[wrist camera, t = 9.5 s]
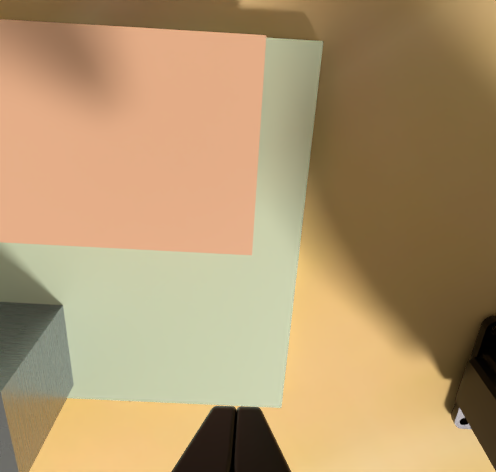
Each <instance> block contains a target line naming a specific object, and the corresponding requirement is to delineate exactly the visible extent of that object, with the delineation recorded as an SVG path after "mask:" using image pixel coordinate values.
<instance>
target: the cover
mask: <svg viewBox="0 0 496 472" xmlns="http://www.w3.org/2000/svg"><path fill="white" fill-rule="evenodd" d="M265 49H266V35H254V34H238V33H221V32H205V31H188V30H172V29H155V28H139V27H122V26H106V25H89V24H73V23H56V22H40V21H23V20H7V19H0V242H3V243H22V244H42V245H61V246H80V247H100V248H119V249H138V250H158V251H177V252H197V253H216V254H235V255H252V247H253V232H254V217H255V202H256V187H257V171H258V156H259V141H260V126H261V110H262V95H263V80H264V65H265Z"/></svg>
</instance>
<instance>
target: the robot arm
mask: <svg viewBox="0 0 496 472" xmlns="http://www.w3.org/2000/svg"><path fill="white" fill-rule="evenodd" d="M495 326H496V316H491V317H488V318H486V319H485V320H484V321H483V323H482V324H481V327H480V330H479V333H478V336H477V339H476V342H475V345H474V348H473V351H472V354H471V357H470V359H469V361H468V362H467V365H466V368H465V371H464V374H463V377H462V380H461V383H460V387H459V390H458V393H457V396H456V399H455V400H456V403H455V406H454V409H453V412H452V415H451V418H452V420H453V422H454V423H455V425H456V427H458V428H461V429H472V430H473V432H474V434H475V436H476V437H477V439H478V441H479V442H480V444H481V446H482V448H483V449H484V451H485V453H486V455H487V456H488V458H489V460H490V462H491V463H492V465H493V467H494V469H495V470H496V328H495V329H492V328H493V327H495ZM172 472H291V470H290V468H289V466H288V464H287V462H286V460H285V458H284V456H283V454H282V452H281V450H280V448H279V446H278V443H277V441H276V439H275V437H274V435H273V433H272V431H271V429H270V427H269V425H268V423H267V421H266V419H265V417H264V415H263V412H262V411H261V409H260V408H259V407H244V406H241V407H238V409H237V410H236V408H235V407H234V406H215V407H213V408H212V410H211V411H210V413H209V414H208V416H207V417H206V419H205V420H204V422H203V423H202V425H201V427H200V428H199V430H198V431H197V433H196V434H195V436H194V437H193V439H192V441H191V442H190V444H189V445H188V447H187V448H186V450H185V451H184V453H183V455H182V456H181V458H180V459H179V461H178V462H177V464H176V465H175V467H174V469H173V470H172Z"/></svg>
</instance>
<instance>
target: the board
mask: <svg viewBox="0 0 496 472" xmlns="http://www.w3.org/2000/svg"><path fill="white" fill-rule="evenodd" d="M322 49H323V41H314V40H298V39H281V38H266V49H265V65H264V80H263V95H262V110H261V126H260V141H259V156H258V171H257V187H256V202H255V217H254V232H253V247H252V255H235V254H216V253H197V252H177V251H158V250H138V249H119V248H100V247H80V246H61V245H42V244H22V243H3V242H0V302H14V303H32V304H51V305H63V309H64V316H65V324H66V331H67V339H68V346H69V354H70V361H71V368H72V376H73V383H74V385H73V387H72V389H71V391H70V393H69V395H68V397H67V398H77V399H99V400H121V401H143V402H165V403H187V404H209V405H231V406H253V407H275V408H281V406H282V397H283V388H284V380H285V371H286V362H287V353H288V345H289V336H290V327H291V319H292V310H293V301H294V293H295V284H296V275H297V267H298V258H299V249H300V241H301V232H302V223H303V214H304V206H305V197H306V188H307V180H308V171H309V162H310V154H311V145H312V136H313V128H314V119H315V110H316V102H317V93H318V84H319V76H320V67H321V58H322Z"/></svg>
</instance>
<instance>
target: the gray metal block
mask: <svg viewBox="0 0 496 472" xmlns="http://www.w3.org/2000/svg"><path fill="white" fill-rule="evenodd" d="M73 385H74V383H73V376H72V368H71V361H70V354H69V346H68V339H67V331H66V324H65V316H64V309H63V305H51V304H32V303H14V302H0V472H29V470H30V468H31V466H32V465H33V463H34V461H35V459H36V457H37V455H38V453H39V451H40V449H41V447H42V445H43V443H44V441H45V439H46V438H47V436H48V434H49V432H50V430H51V428H52V426H53V424H54V422H55V420H56V418H57V416H58V414H59V412H60V411H61V409H62V407H63V405H64V403H65V401H66V399H67V397H68V395H69V393H70V391H71V389H72V387H73Z"/></svg>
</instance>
